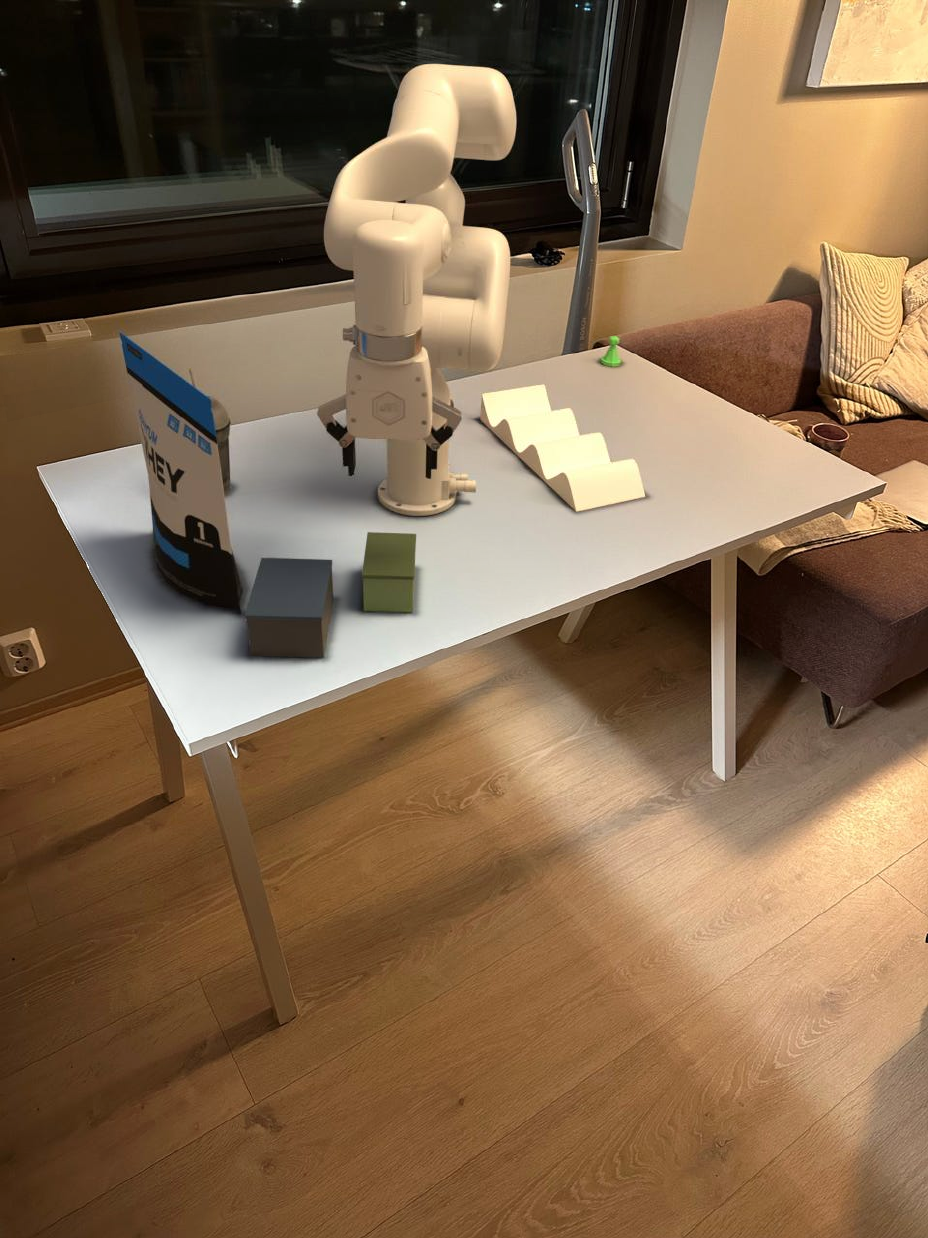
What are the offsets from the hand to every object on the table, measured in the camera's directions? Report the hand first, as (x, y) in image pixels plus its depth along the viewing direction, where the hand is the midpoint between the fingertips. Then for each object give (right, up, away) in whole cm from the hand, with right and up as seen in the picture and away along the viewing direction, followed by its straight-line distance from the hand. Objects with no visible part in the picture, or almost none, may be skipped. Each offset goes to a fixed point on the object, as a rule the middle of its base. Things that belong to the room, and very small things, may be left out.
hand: (390, 472), depth 111 cm
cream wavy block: (+26, +10, +44) cm, 52 cm away
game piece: (+41, +36, +78) cm, 96 cm away
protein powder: (-28, -12, +12) cm, 32 cm away
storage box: (-13, -19, +3) cm, 24 cm away
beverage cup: (-30, +2, +29) cm, 42 cm away
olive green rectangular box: (-1, -14, +10) cm, 18 cm away
